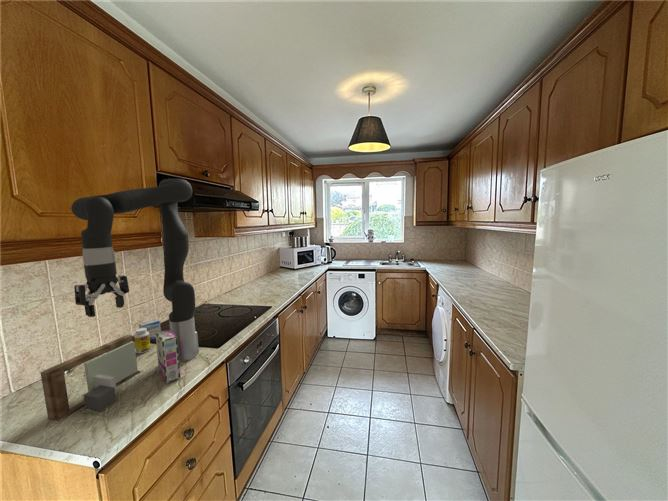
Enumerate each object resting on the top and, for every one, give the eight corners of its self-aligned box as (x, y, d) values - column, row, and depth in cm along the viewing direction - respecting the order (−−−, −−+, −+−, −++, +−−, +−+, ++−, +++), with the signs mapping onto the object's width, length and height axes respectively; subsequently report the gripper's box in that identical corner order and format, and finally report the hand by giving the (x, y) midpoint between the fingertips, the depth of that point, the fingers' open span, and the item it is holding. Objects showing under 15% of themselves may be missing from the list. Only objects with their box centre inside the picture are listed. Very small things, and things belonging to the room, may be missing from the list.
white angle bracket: (135, 370, 105) (131, 341, 103) (152, 373, 103) (148, 343, 101) (89, 397, 90) (84, 363, 88) (107, 400, 87) (103, 366, 86)
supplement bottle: (142, 354, 119) (139, 332, 118) (132, 353, 121) (130, 331, 119) (153, 348, 124) (151, 327, 123) (144, 347, 126) (142, 326, 125)
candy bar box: (181, 378, 101) (177, 336, 99) (166, 384, 97) (161, 341, 95) (173, 367, 109) (169, 328, 107) (158, 372, 105) (154, 332, 103)
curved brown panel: (131, 370, 106) (127, 334, 105) (140, 372, 105) (136, 335, 103) (48, 418, 82) (40, 372, 80) (58, 421, 80) (51, 374, 79)
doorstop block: (102, 398, 90) (100, 385, 90) (116, 401, 89) (114, 387, 88) (85, 409, 85) (83, 394, 85) (99, 412, 84) (97, 397, 83)
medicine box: (143, 342, 131) (141, 325, 130) (140, 340, 133) (138, 323, 132) (161, 337, 137) (160, 320, 136) (158, 334, 140) (156, 318, 138)
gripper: (114, 258, 92) (119, 304, 94) (63, 265, 78) (71, 319, 80) (131, 258, 90) (136, 305, 92) (82, 266, 77) (90, 321, 79)
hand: (106, 311), depth 86 cm, fingers open, 8 cm apart
